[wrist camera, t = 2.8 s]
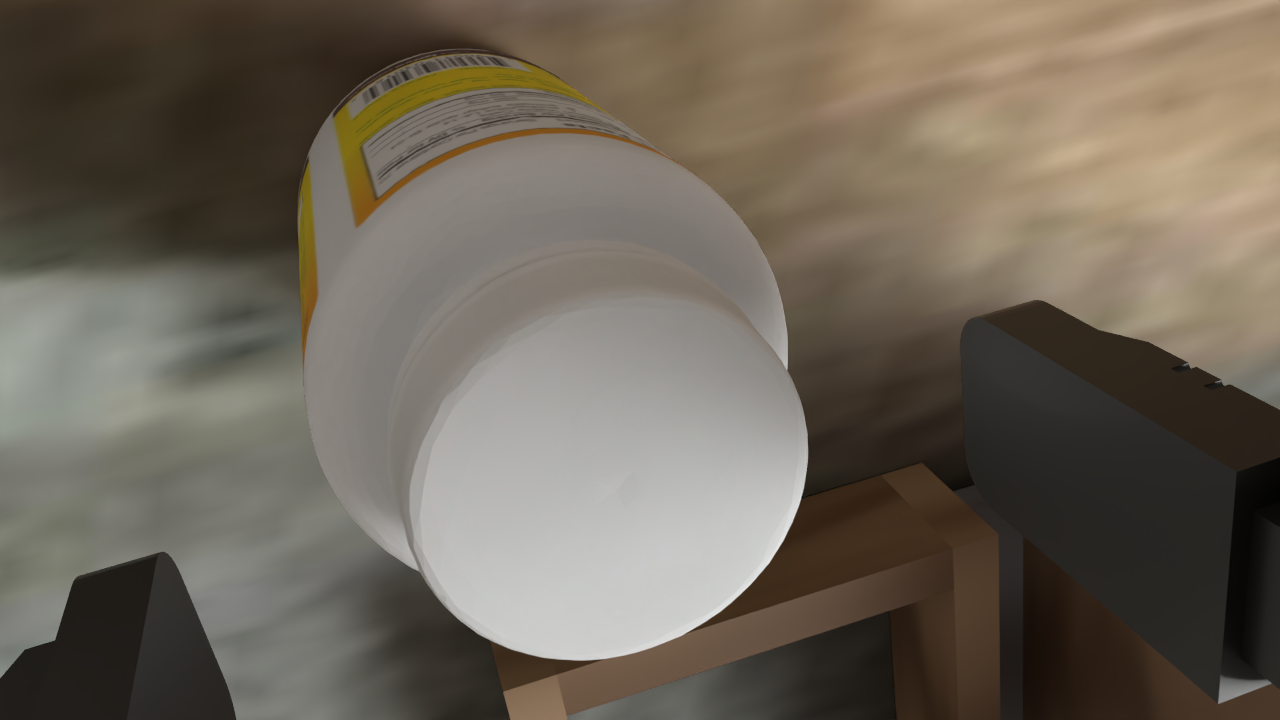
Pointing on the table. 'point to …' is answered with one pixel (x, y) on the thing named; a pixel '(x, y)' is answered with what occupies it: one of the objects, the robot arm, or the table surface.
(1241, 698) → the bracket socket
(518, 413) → the supplement bottle
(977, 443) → the robot arm
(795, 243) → the table surface
